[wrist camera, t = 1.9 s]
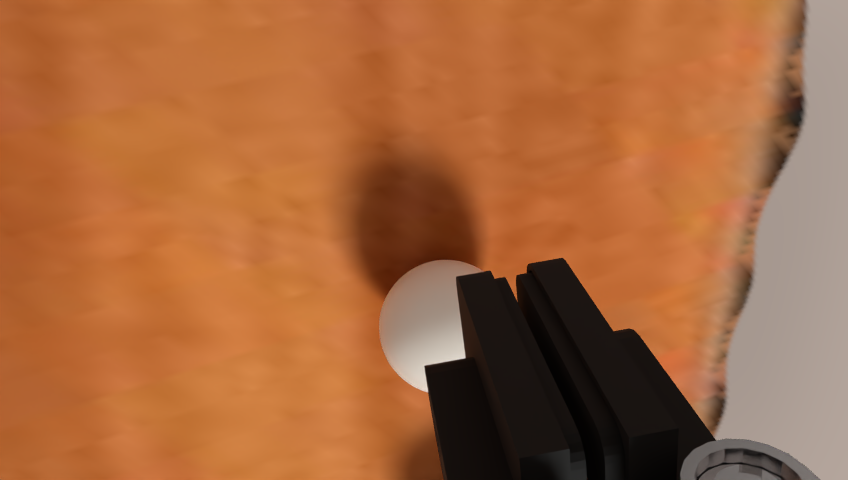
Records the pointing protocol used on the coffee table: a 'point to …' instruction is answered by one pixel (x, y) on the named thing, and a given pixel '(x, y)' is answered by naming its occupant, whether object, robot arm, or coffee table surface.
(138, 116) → the coffee table surface
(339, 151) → the coffee table surface
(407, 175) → the coffee table surface
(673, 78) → the coffee table surface
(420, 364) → the cue ball
